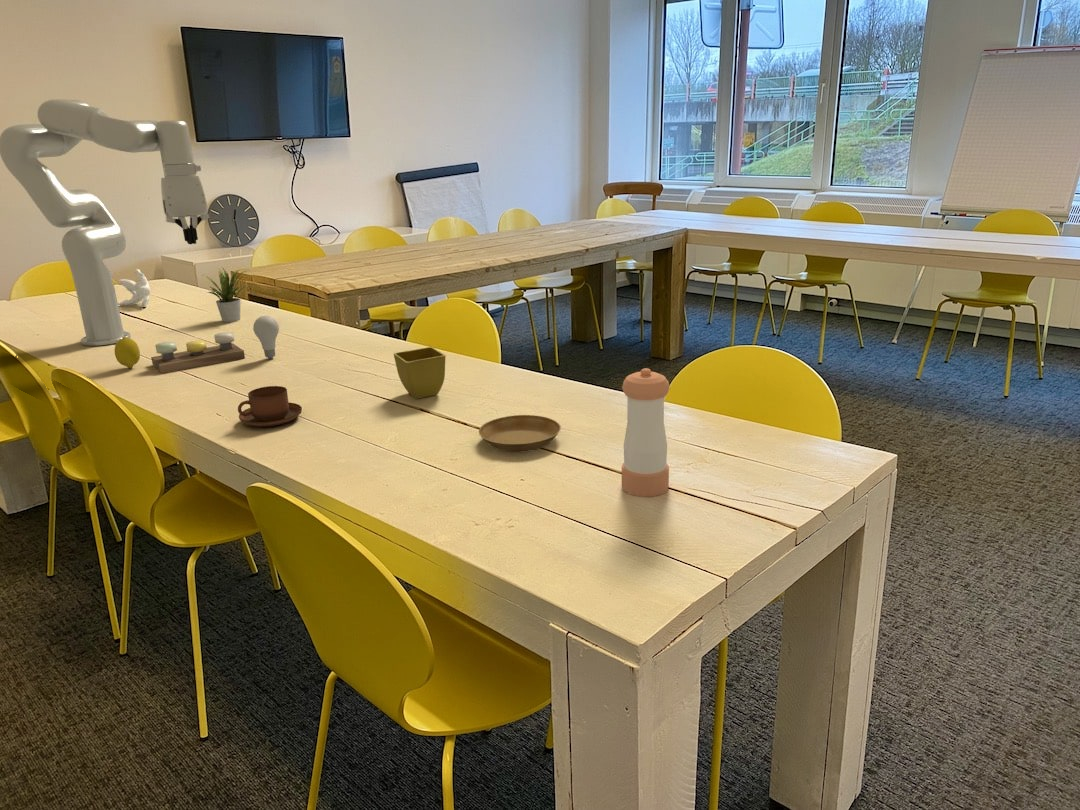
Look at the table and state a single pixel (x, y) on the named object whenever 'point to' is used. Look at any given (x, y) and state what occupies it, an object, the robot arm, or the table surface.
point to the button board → (197, 359)
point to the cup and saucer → (268, 407)
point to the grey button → (224, 340)
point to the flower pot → (421, 371)
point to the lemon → (127, 352)
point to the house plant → (228, 297)
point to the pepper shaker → (645, 435)
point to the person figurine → (137, 290)
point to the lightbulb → (267, 334)
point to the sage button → (166, 350)
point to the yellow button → (196, 347)
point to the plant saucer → (519, 432)
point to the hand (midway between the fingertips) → (191, 243)
